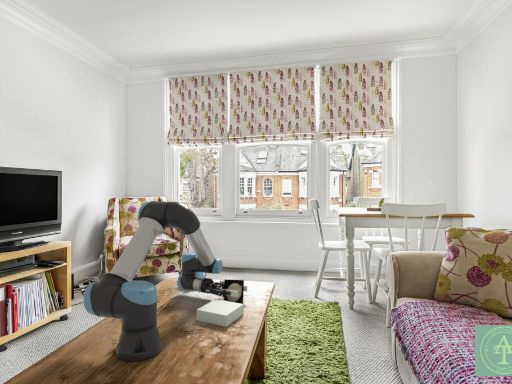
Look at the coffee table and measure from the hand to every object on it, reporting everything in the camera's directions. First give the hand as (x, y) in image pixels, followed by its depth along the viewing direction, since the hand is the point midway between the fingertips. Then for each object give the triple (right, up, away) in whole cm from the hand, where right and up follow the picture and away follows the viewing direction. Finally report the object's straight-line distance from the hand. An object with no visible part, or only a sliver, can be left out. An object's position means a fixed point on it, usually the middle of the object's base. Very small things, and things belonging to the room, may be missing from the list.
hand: (242, 291), depth 162 cm
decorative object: (-4, -7, +2) cm, 8 cm away
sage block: (-9, -7, -15) cm, 19 cm away
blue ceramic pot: (-29, -6, +32) cm, 44 cm away
